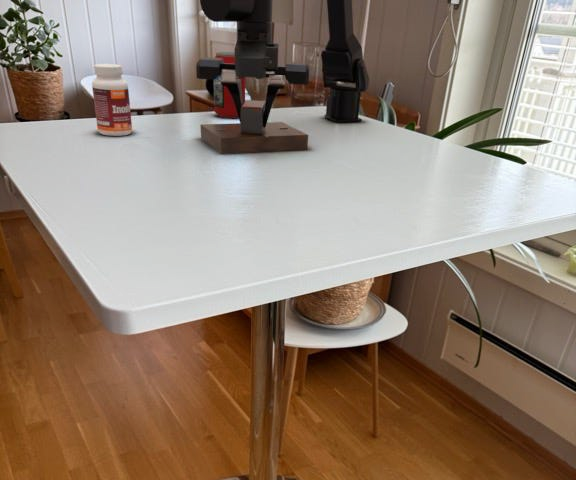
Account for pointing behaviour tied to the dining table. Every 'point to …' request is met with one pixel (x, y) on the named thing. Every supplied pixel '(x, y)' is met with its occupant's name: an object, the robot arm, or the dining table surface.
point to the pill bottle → (111, 100)
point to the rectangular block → (252, 117)
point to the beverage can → (226, 91)
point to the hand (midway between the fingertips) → (253, 126)
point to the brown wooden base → (253, 138)
